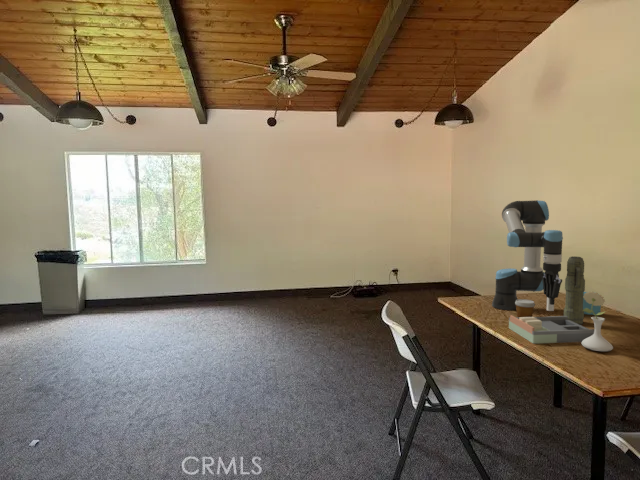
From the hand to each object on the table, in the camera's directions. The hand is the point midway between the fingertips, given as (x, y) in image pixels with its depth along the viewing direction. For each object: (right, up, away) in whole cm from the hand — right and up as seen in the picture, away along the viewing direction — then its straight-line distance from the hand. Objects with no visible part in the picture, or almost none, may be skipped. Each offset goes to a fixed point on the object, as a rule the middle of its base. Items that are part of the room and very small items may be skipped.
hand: (550, 310), depth 191 cm
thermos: (+23, -10, +18) cm, 31 cm away
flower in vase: (+9, -14, -18) cm, 24 cm away
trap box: (+2, -12, +1) cm, 12 cm away
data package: (+41, -8, +34) cm, 53 cm away
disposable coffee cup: (-3, -10, +19) cm, 21 cm away
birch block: (-10, -8, 0) cm, 13 cm away
